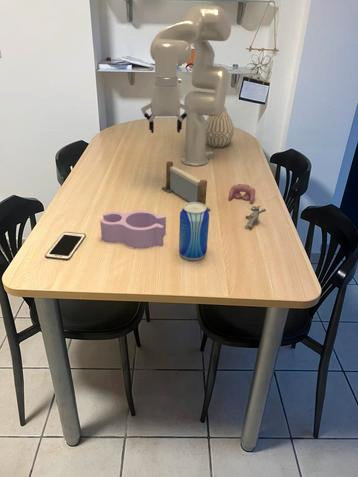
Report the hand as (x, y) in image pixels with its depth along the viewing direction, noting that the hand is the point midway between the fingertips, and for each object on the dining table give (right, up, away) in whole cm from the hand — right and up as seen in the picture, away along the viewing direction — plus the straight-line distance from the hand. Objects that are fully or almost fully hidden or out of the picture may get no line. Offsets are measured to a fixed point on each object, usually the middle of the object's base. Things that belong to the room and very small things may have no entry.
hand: (165, 131), depth 144 cm
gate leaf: (+7, -23, +7) cm, 25 cm away
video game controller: (+29, -24, +9) cm, 39 cm away
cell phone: (-30, -42, -22) cm, 56 cm away
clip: (-10, -39, -17) cm, 44 cm away
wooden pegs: (+7, -24, +7) cm, 26 cm away
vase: (+25, +10, +64) cm, 69 cm away
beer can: (+9, -44, -24) cm, 51 cm away
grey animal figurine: (+31, -34, -8) cm, 47 cm away
